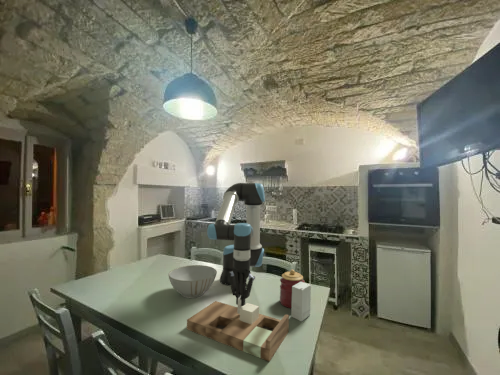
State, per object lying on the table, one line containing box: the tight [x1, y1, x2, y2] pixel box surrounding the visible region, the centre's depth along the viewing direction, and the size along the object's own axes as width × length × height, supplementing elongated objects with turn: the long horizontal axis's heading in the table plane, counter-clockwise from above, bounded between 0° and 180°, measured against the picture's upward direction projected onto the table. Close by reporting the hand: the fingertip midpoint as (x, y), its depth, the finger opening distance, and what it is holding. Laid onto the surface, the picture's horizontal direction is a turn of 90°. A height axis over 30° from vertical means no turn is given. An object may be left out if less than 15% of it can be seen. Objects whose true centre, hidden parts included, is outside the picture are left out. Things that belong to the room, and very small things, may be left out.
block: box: [240, 302, 260, 325], centre depth 100 cm, size 6×6×5 cm
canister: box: [279, 269, 306, 309], centre depth 125 cm, size 13×13×18 cm
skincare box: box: [290, 282, 312, 322], centre depth 111 cm, size 8×6×15 cm
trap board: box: [186, 300, 290, 362], centre depth 99 cm, size 38×20×7 cm, turn 62°
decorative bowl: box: [168, 264, 217, 299], centre depth 134 cm, size 27×27×12 cm
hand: (240, 312), depth 103 cm, fingers closed
